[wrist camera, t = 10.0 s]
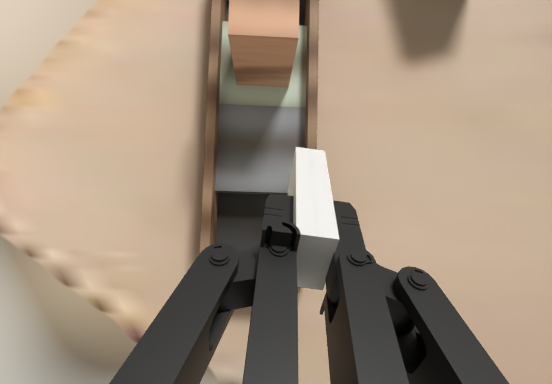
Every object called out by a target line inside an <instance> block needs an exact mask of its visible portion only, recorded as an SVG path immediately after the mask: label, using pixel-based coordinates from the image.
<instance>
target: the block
mask: <svg viewBox="0 0 552 384" xmlns="http://www.w3.org/2000/svg"><path fill="white" fill-rule="evenodd" d="M228 38H229V44H230V49H231V55H232V60H233V66H234V72H235V77H236V83H237V85H252V86H275V87H289V83H290V78H291V73H292V68H293V63H294V58H295V54H296V49H297V44H298V39H299V0H229V19H228Z"/></svg>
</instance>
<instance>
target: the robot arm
mask: <svg viewBox="0 0 552 384" xmlns="http://www.w3.org/2000/svg"><path fill="white" fill-rule="evenodd" d="M325 282H326V290H327V291H326V294H325V297H324V300H323V303H322V306H321V309H320V314H322V315H323V312H324V310H325V322H326V334H327V346H328V358H329V370H330V382H331V384H509V383H508V381H507V380H506V379H505V377H504V376H503V374H502V373H501V372H500V370H499V369H498V367H497V366H496V365H495V363H494V362H493V361H492V359H491V358H490V356H489V355H488V354H487V352H486V351H485V349H484V348H483V347H482V345H481V344H480V343H479V341H478V340H477V338H476V337H475V336H474V334H473V333H472V331H471V330H470V329H469V327H468V326H467V324H466V323H465V322H464V320H463V319H462V318H461V316H460V315H459V313H458V312H457V311H456V309H455V308H454V306H453V305H452V304H451V302H450V301H449V300H448V298H447V297H446V295H445V294H444V293H443V291H442V290H441V288H440V287H439V286H438V284H437V283H436V281H435V280H434V279H433V278H432V277H431V276H430V275H429V274H428V273H426V272H425V271H423V270H421V269H418V268H416V267H404V268H402V269H401V270H400V271H399V272H398V273H397V272H394V271H392V270H389V269H386V268H384V267H382V266H380V265H378V264H377V263H376V261H375V259H374V257H373V256H372V255H371V254H370V253H369V252H368V251H367V250H366V249H365V245H364V241H363V237H362V233H361V229H360V227H359V221H358V217H357V213H356V210H355V209H354V208H353V206H352V205H351V204H350V203H347V202H340V201H333V198H332V191H331V185H330V179H329V173H328V167H327V161H326V155H325V151H323V150H315V149H308V148H301V147H296V149H295V154H294V160H293V165H292V171H291V176H290V182H289V187H288V195H281V194H273V193H271V194H270V195H269V197H268V198H267V199H266V203H265V210H264V218H263V225H262V233H261V240H260V242H259V243H258V245H257V246H255V247H254V248H252V249H250V250H246V251H240V252H237V251H236V250H235V249H234V248H233V247H231V246H229V245H227V244H212V245H210V246H208V247H206V248H205V249H204V250H203V251H202V252H201V253H200V254H199V256H198V257H197V259H196V260H195V262H194V263H193V264H192V266H191V267H190V269H189V270H188V272H187V273H186V274H185V276H184V277H183V279H182V280H181V282H180V283H179V285H178V286H177V287H176V289H175V290H174V292H173V293H172V295H171V296H170V297H169V299H168V300H167V302H166V303H165V305H164V306H163V308H162V309H161V310H160V312H159V313H158V315H157V316H156V318H155V319H154V320H153V322H152V323H151V325H150V326H149V328H148V329H147V330H146V332H145V333H144V335H143V336H142V338H141V339H140V341H139V342H138V343H137V345H136V346H135V348H134V349H133V351H132V352H131V353H130V355H129V356H128V358H127V359H126V361H125V362H124V363H123V365H122V366H121V368H120V369H119V371H118V372H117V374H116V375H115V376H114V378H113V379H112V381H111V382H110V384H200V382H201V379H202V377H203V375H204V373H205V371H206V369H207V367H208V365H209V362H210V360H211V358H212V356H213V354H214V352H215V350H216V348H217V345H218V343H219V341H220V339H221V337H222V335H223V333H224V331H225V328H226V326H227V324H228V322H229V320H230V318H231V316H232V314H233V311H234V309H239V308H244V307H249V306H252V311H251V319H250V327H249V335H248V343H247V351H246V359H245V367H244V375H243V383H242V384H298V311H297V287H303V288H311V289H319V290H323V288H324V285H325Z"/></svg>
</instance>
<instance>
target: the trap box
mask: <svg viewBox="0 0 552 384" xmlns="http://www.w3.org/2000/svg"><path fill="white" fill-rule="evenodd" d="M228 19H229V0H212V8H211V29H210V49H209V70H208V90H207V111H206V131H205V152H204V173H203V193H202V214H201V234H200V253H201V252H202V251H203V250H204V249H205V248H206V247H208V246H210V245H212V244H227V245H229V246H231V247H233V248H234V249H235V250H236V251H237V252H240V251H246V250H250V249H252V248H254V247H255V246H257V245H258V243H259V242H260V240H261V233H262V225H263V218H264V210H265V203H266V199H267V198H268V197H269V195H270V194H271V193H273V194H281V195H288V187H289V182H290V176H291V171H292V165H293V160H294V154H295V149H296V147H301V148H308V149H315V150H317V92H318V27H319V0H299V39H298V44H297V49H296V54H295V58H294V63H293V68H292V73H291V78H290V83H289V87H275V86H252V85H237V83H236V77H235V72H234V66H233V60H232V55H231V49H230V44H229V38H228Z"/></svg>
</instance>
